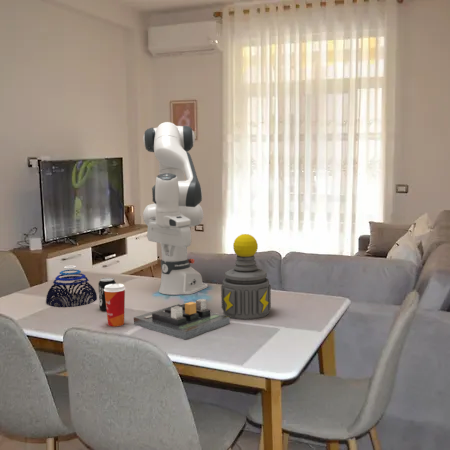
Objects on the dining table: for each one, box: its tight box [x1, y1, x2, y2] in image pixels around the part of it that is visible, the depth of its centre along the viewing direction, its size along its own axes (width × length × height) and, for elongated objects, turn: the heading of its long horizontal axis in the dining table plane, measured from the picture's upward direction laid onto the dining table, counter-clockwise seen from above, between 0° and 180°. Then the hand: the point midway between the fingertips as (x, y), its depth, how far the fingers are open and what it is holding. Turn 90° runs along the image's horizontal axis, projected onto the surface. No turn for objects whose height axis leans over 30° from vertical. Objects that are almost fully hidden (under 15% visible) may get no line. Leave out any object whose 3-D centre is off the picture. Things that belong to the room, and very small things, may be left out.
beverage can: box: [98, 277, 117, 312], centre depth 218 cm, size 7×7×12 cm
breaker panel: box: [133, 298, 231, 340], centre depth 198 cm, size 22×26×8 cm
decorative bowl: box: [45, 265, 98, 308], centre depth 232 cm, size 20×20×14 cm
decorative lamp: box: [220, 233, 272, 320], centre depth 209 cm, size 19×19×30 cm
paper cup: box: [104, 283, 126, 328], centre depth 199 cm, size 8×8×14 cm
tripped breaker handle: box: [184, 301, 196, 315], centre depth 195 cm, size 3×2×4 cm
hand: (169, 255), depth 206 cm, fingers closed
